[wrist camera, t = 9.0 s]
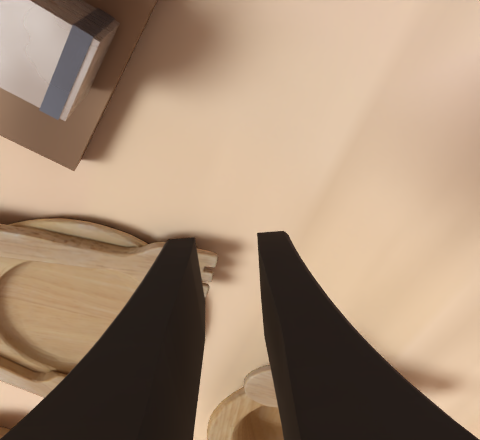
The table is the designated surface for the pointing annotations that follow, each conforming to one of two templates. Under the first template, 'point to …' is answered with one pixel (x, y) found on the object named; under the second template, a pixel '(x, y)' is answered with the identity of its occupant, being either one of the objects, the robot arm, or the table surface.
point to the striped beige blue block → (52, 51)
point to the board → (91, 107)
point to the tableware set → (94, 312)
